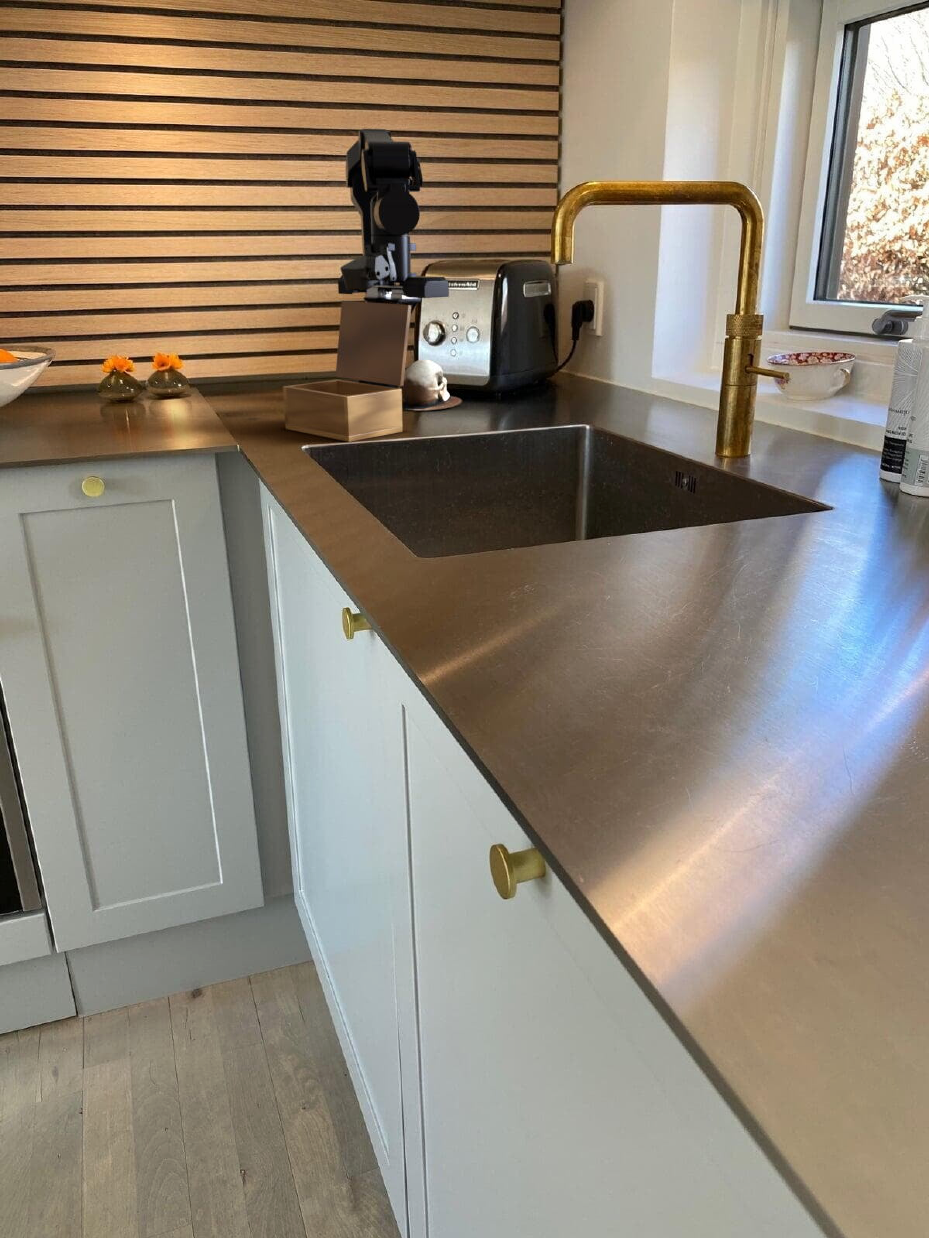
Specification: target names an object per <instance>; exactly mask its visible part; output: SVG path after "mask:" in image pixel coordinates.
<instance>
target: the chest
mask: <svg viewBox="0 0 929 1238" xmlns="http://www.w3.org/2000/svg"><path fill="white" fill-rule="evenodd" d="M282 394H283V395H282V396H283V410H284V424H285V429H286V430H289V431H295V432H299V433H303V434H309V435H314V436H319V437H323V438H329V439H334V440H338V441H342V442H347V443H351V442H355V441H361V440H365V439H371V438H377V437H381V436H382V437H383V436H388V435H391V434H392V435H393V434H397V433H403V432H404V431H403V409H402V389H401V388H399V387H398V388H392V387H385V386H378V385H371V384H364V383H359V382H357V381H351V380H344V379H343V380H342V379H330V380H323V381H315V382H307V383H301V384H300V383H299V384H293V385H285V386H284V385H283V386H282Z"/></svg>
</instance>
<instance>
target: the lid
mask: <svg viewBox="0 0 929 1238" xmlns="http://www.w3.org/2000/svg"><path fill="white" fill-rule="evenodd" d="M340 308H341V309H340V317H339V318H340V319H339V330H338V341H337V352H336V353H337V355H336V365H335V366H336V367H335V377H336V378H342V379H347V380H348V379H349V380H356V381H359V380H362V381H369V382H376V383H383V384H390V385H397V386H398V387H401V386H403V384H404V374H405V370H406V364H407V355H408V354H407V353H408V352H407V351H408V343H409V333H410V325H411V316H410V315H412V314H411V305H402V304H386V303H371V302H365V301H355V300H353V301H351V300H341V306H340Z"/></svg>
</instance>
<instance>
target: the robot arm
mask: <svg viewBox="0 0 929 1238" xmlns="http://www.w3.org/2000/svg"><path fill="white" fill-rule="evenodd" d="M423 182H424V179H423V173H422V167H421V161H420V159H419V158H418V155H417V152H416V150H413V147H412V144H411V142H410V141H398V140H396V141H395V140H394V139H393V138H392V133H391V131H390V130H387V129H386V128H363V129H362V130H361V129H359V130H358V136H357V141H355V142H354V144H353V145H352V146H351V147H350V148H349V149H348V150H347V151H346V157H345V185H346V188H347V189H348V188H349V193H350V201H351V203H352V205H353V206H354V208H355V210H356V211H357V212H358V214H359V216H360V223H361V224H360V226H361V227H360V228H361V244H362V248H361V249H362V256H359V257H357V258H356V257H355V258H354V259H353V260H350V261H349V262H347V263H346V264H344V265H342V266H341V267H340V268H339V269H340V273H341V275H340V278H339V279H338V280H337V291H338V295H353V294H360V293H364V297H362V299H363V300H364V302H371V303H386V304H402V305H411V315H412V314H413V312H414V310H415V308H416V306H417V305H418V303H420V302H421V303H422V299H431V298H447V297H448V298H449V297H450V284H449V283H450V282H449V281H448V280H447V278H446V277H445V276H428V275H426V276H423V275H422V276H417V275H418V274H417V272H412V264H411V261H412V260H411V259H412V258H411V257H412V256H411V252H412V251H413V252H414V251H415V252H416V251H417V243H415V242H413V243H411V232H412V231H413V230H414V229H415V228H416V227H417V226H418V223H419V220H420V216H421V210H420V207H419V204H418V201H417V200H416V198H415V197H414V196H413V195H412V194H411V193H419V192H421V188H422V187H423ZM411 315H410V317H411ZM358 383H364V384H371V385H378V386H385V387H392V388H398V389H399V386H397V385H390V384H383V383H376V382H369V381H362V380H358ZM402 398H404V397H403V395H402Z"/></svg>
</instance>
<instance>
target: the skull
mask: <svg viewBox="0 0 929 1238" xmlns="http://www.w3.org/2000/svg"><path fill="white" fill-rule="evenodd" d="M447 384H448V381H447V379H446V377H444V371H443V369H442V367H441V366H440V365H439V364H437V363H436V362H434V361H432V360H429V359H418V360H416V361H413V362H412V364H410V365H409V366H408V367H407V368H405V374H404V384H403V386H400V389H402V395H403V397H404V398H402V410H405V411H433V410H434V411H435V410H443V409H447V408H453V407H455V406H458V405H460V404H462V402H463V400H462V399H461V398H459V397H457V396H453V395H450V393H449V391H448V390H447Z"/></svg>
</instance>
